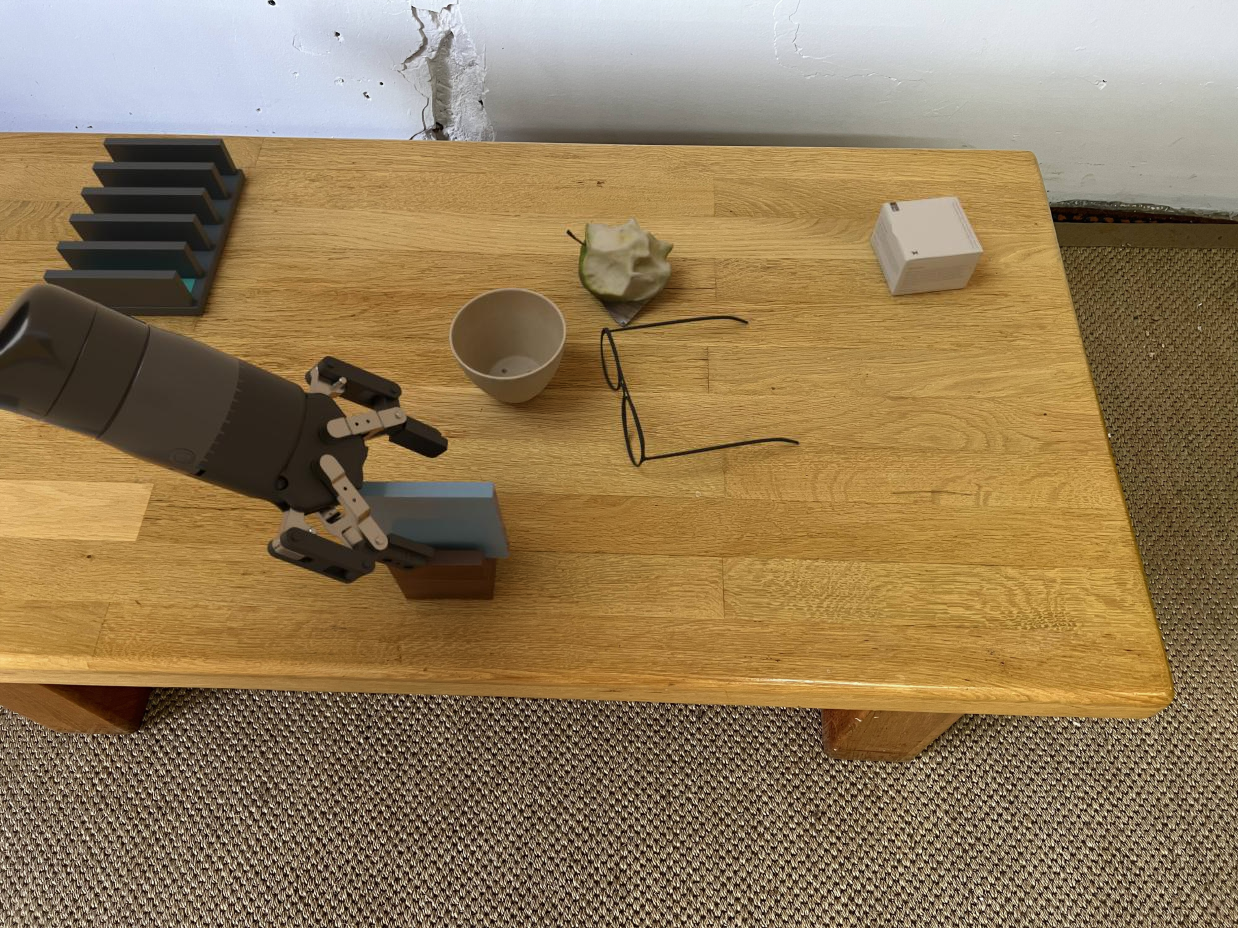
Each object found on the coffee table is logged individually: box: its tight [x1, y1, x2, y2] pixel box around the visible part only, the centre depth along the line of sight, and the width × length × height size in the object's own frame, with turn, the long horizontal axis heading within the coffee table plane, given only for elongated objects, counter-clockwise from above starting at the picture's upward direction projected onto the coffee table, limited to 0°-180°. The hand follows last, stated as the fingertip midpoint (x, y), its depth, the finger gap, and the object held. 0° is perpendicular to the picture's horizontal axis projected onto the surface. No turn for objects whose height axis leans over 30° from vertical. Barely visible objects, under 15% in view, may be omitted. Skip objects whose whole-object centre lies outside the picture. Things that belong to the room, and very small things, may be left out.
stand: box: [386, 550, 498, 601], centre depth 67 cm, size 5×7×7 cm
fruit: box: [566, 217, 675, 327], centre depth 83 cm, size 9×9×8 cm
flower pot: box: [448, 287, 567, 404], centre depth 77 cm, size 10×10×7 cm
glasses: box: [599, 315, 800, 468], centre depth 78 cm, size 14×15×5 cm
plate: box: [358, 480, 510, 559], centre depth 63 cm, size 1×10×10 cm, turn 90°
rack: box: [42, 137, 247, 317], centre depth 86 cm, size 19×13×5 cm
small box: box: [870, 195, 984, 296], centre depth 85 cm, size 8×8×5 cm
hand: (435, 502), depth 60 cm, fingers open, 8 cm apart
